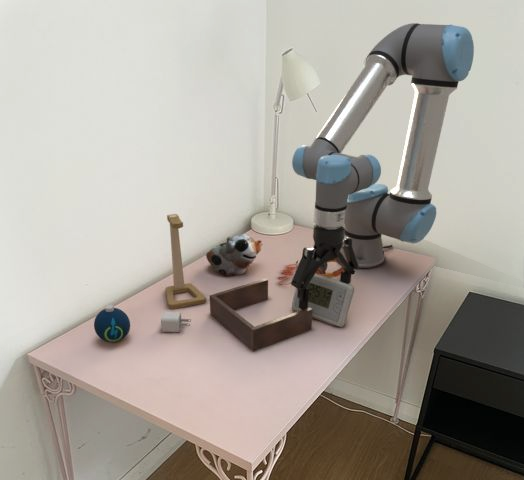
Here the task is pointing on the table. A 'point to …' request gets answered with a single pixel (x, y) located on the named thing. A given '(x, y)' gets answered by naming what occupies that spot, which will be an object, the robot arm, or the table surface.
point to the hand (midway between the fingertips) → (323, 302)
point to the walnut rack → (245, 331)
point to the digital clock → (327, 299)
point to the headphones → (320, 271)
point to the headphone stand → (179, 270)
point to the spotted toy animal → (234, 254)
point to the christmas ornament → (112, 324)
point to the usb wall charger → (173, 322)
